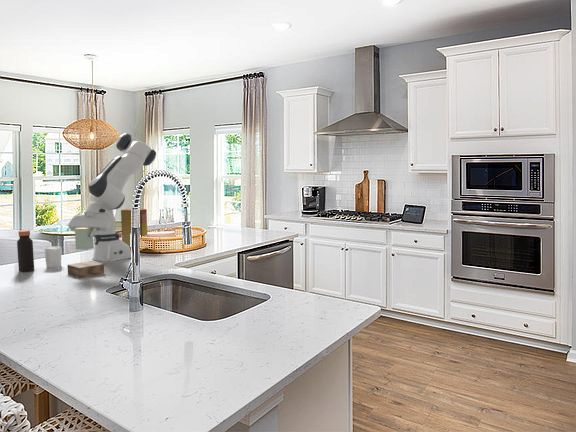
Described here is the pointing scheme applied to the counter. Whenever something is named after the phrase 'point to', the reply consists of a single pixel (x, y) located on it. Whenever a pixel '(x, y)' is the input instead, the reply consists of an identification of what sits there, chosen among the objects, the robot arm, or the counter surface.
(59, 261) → the white cup
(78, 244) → the tin
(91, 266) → the walnut block
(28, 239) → the bottle
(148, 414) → the counter surface
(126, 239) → the food packaging
